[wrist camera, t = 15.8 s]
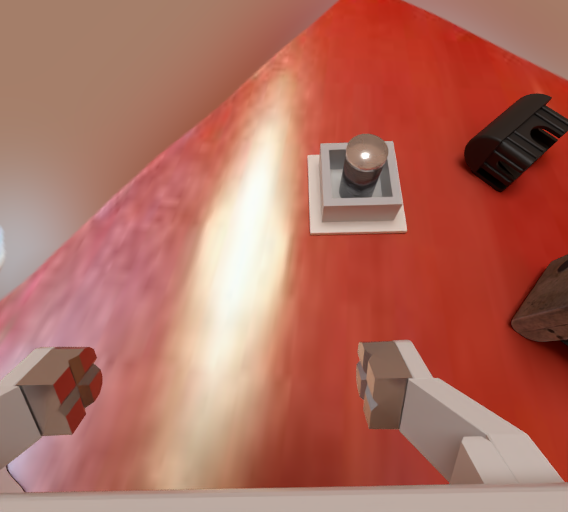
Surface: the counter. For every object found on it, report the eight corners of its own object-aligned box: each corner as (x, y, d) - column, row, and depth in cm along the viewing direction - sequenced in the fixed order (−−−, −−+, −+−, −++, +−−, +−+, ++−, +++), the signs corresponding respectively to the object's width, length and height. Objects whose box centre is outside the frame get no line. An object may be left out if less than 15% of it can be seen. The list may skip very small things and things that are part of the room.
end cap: (499, 123, 46) (530, 83, 40) (543, 153, 44) (584, 115, 38) (453, 162, 44) (478, 126, 38) (497, 196, 42) (531, 163, 36)
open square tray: (310, 235, 41) (311, 218, 37) (307, 157, 45) (308, 134, 41) (405, 233, 41) (418, 215, 36) (393, 155, 45) (403, 131, 41)
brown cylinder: (339, 206, 42) (347, 168, 34) (337, 177, 43) (345, 134, 36) (374, 205, 41) (390, 166, 34) (371, 176, 43) (385, 133, 36)
